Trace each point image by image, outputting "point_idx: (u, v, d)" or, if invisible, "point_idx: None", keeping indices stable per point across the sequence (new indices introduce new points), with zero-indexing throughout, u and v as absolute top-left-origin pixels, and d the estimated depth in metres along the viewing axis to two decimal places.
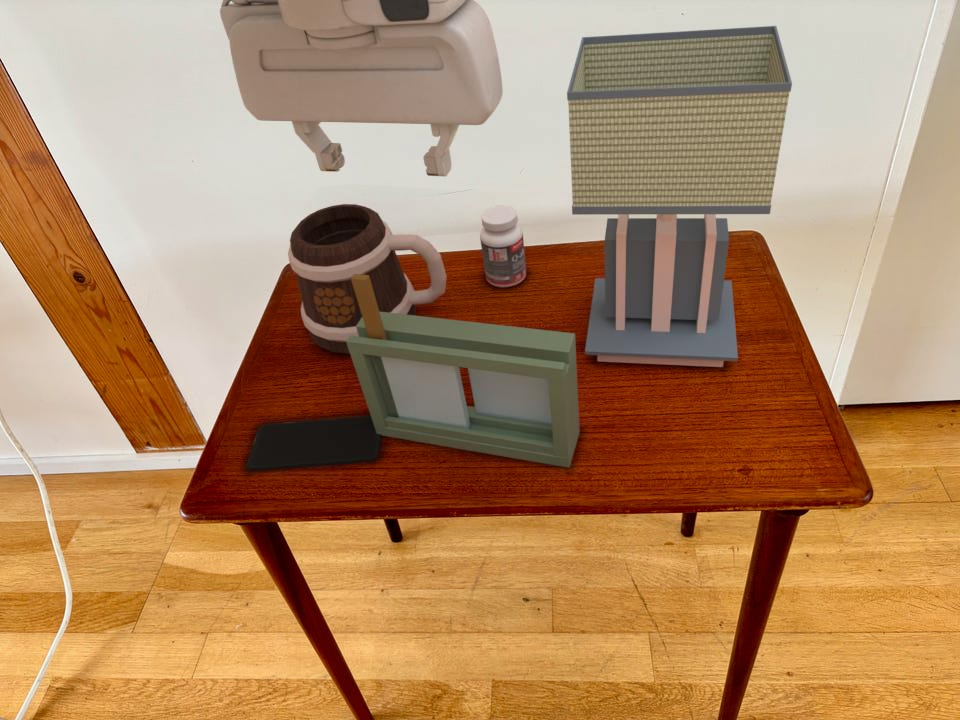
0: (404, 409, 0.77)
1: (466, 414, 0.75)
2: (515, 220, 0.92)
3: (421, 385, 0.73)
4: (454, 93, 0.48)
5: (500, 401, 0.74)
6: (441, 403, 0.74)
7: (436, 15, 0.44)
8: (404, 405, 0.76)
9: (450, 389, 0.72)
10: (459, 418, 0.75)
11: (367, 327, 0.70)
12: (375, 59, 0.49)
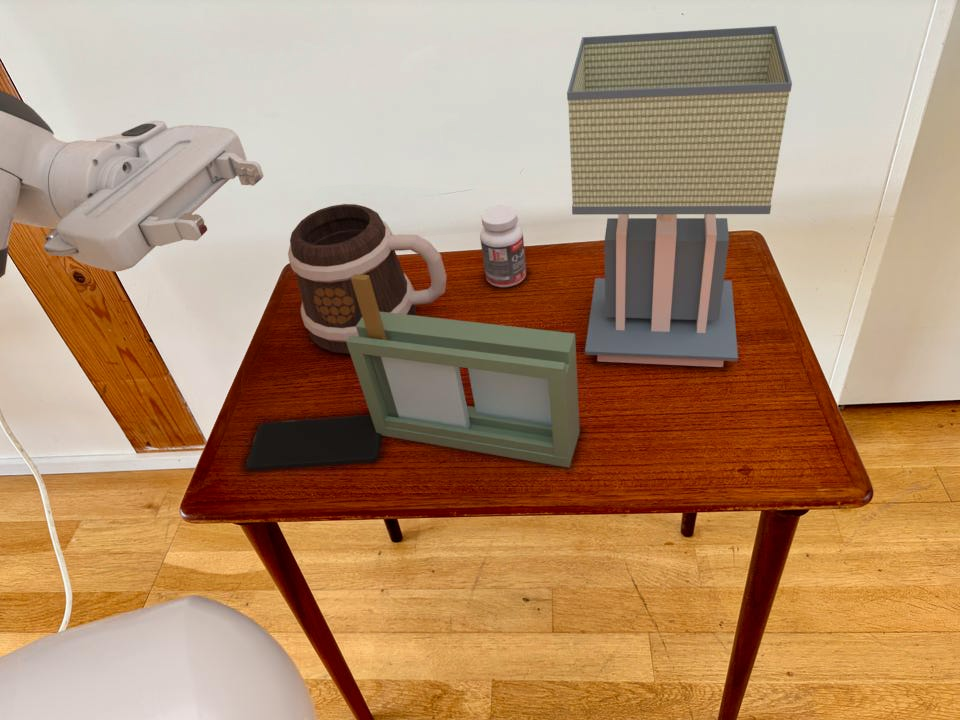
0: (404, 409, 0.77)
1: (466, 414, 0.75)
2: (515, 220, 0.92)
3: (421, 385, 0.73)
4: (207, 138, 0.71)
5: (500, 401, 0.74)
6: (441, 403, 0.74)
7: (159, 122, 0.72)
8: (404, 405, 0.76)
9: (450, 389, 0.72)
10: (459, 418, 0.75)
11: (367, 327, 0.70)
12: (156, 166, 0.68)
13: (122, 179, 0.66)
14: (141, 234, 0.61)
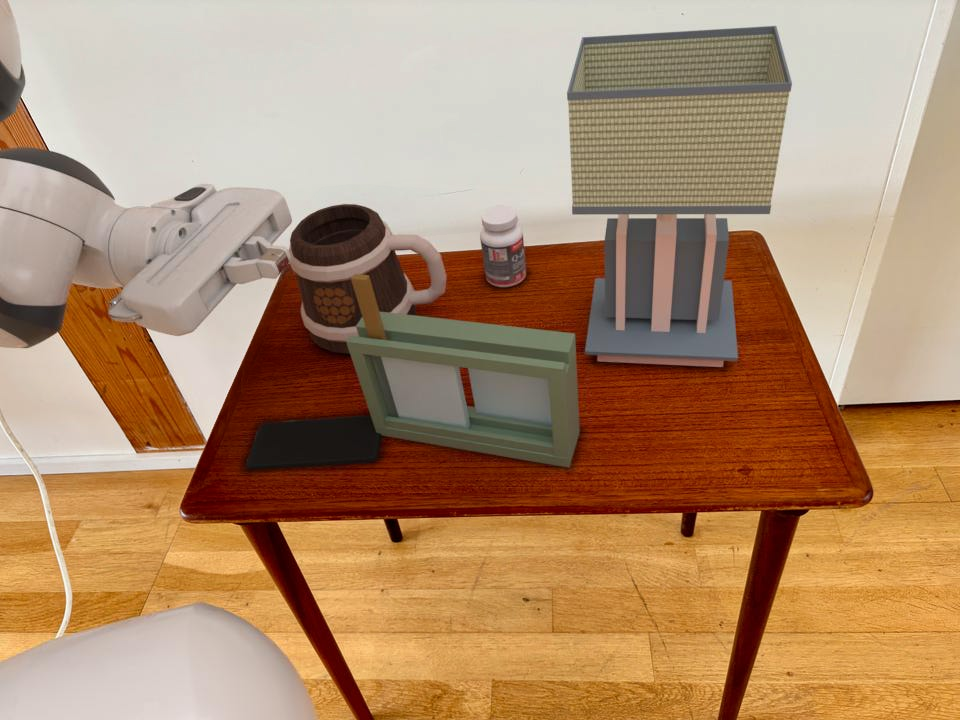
0: (404, 409, 0.77)
1: (466, 414, 0.75)
2: (515, 220, 0.92)
3: (421, 385, 0.73)
4: (255, 200, 0.74)
5: (500, 401, 0.74)
6: (441, 403, 0.74)
7: (208, 185, 0.75)
8: (404, 405, 0.76)
9: (450, 389, 0.72)
10: (459, 418, 0.75)
11: (367, 327, 0.70)
12: (209, 230, 0.71)
13: (178, 244, 0.69)
14: (201, 300, 0.65)
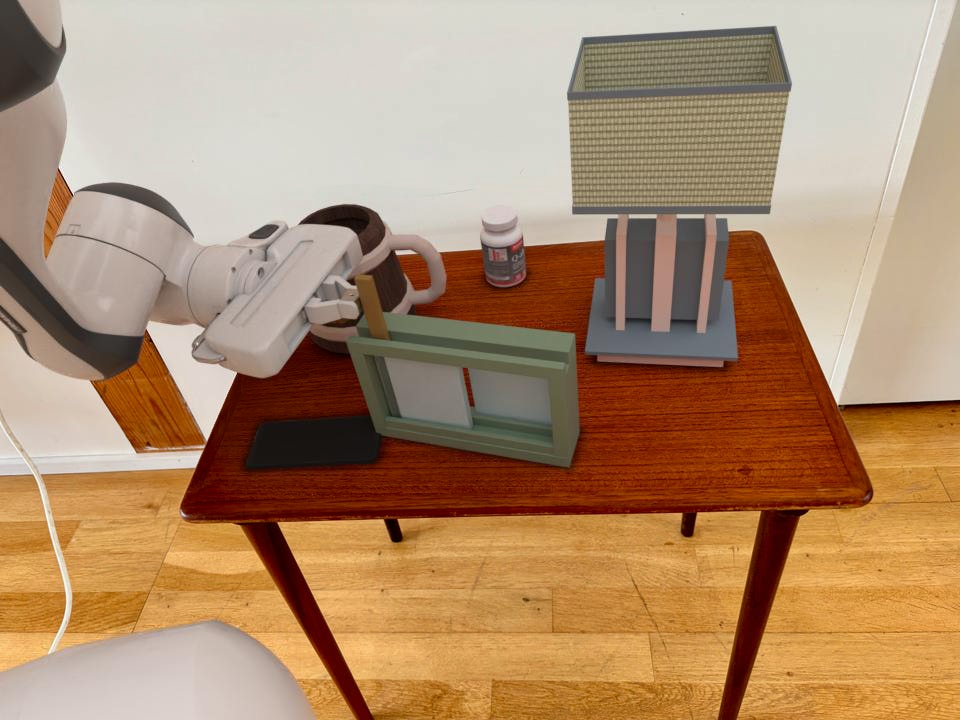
0: (407, 409, 0.77)
1: (469, 414, 0.75)
2: (515, 220, 0.92)
3: (424, 385, 0.73)
4: (329, 237, 0.74)
5: (500, 401, 0.74)
6: (444, 403, 0.74)
7: (281, 222, 0.75)
8: (407, 406, 0.76)
9: (453, 390, 0.72)
10: (462, 418, 0.75)
11: (370, 327, 0.70)
12: (285, 269, 0.71)
13: (257, 284, 0.69)
14: (285, 342, 0.65)
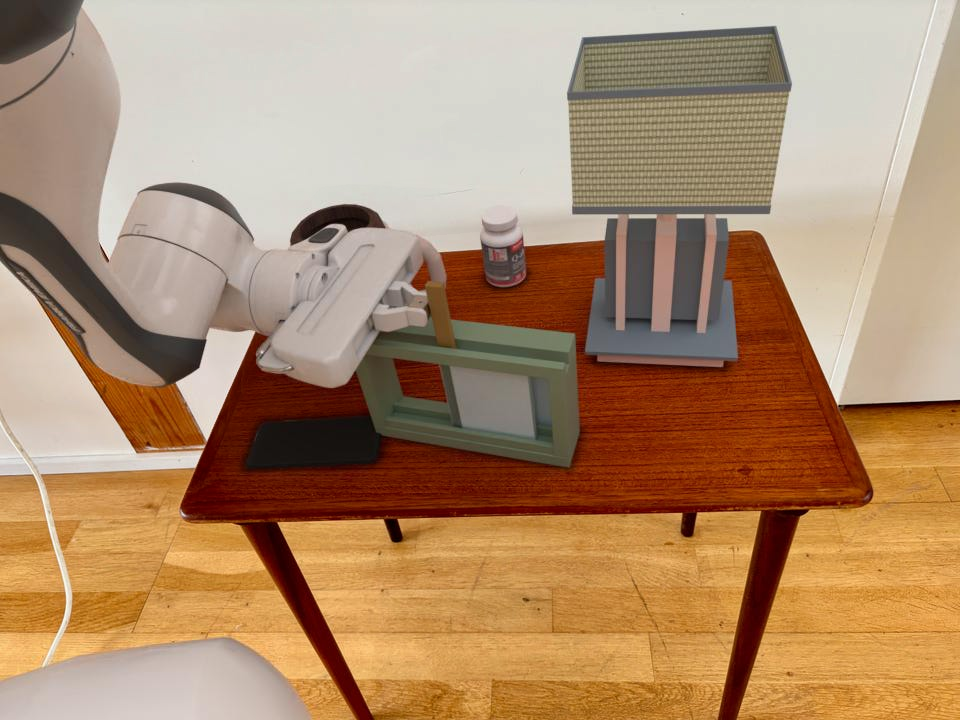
0: (469, 419, 0.74)
1: (534, 425, 0.73)
2: (515, 220, 0.92)
3: (490, 395, 0.71)
4: (390, 242, 0.72)
5: None
6: (509, 413, 0.72)
7: (340, 226, 0.73)
8: (469, 416, 0.74)
9: (521, 400, 0.70)
10: (527, 429, 0.72)
11: (437, 335, 0.67)
12: (348, 274, 0.69)
13: (321, 290, 0.67)
14: (354, 350, 0.63)
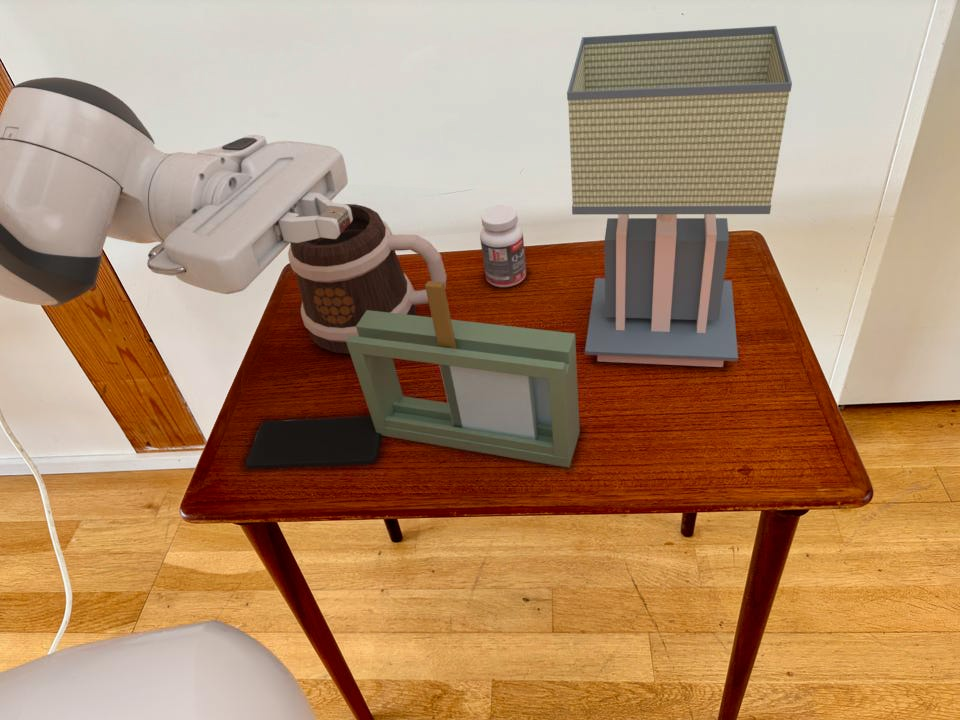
0: (469, 419, 0.74)
1: (535, 425, 0.72)
2: (515, 220, 0.92)
3: (490, 395, 0.71)
4: (311, 155, 0.67)
5: None
6: (510, 413, 0.72)
7: (259, 137, 0.68)
8: (469, 416, 0.74)
9: (521, 400, 0.70)
10: (527, 429, 0.72)
11: (437, 335, 0.67)
12: (260, 183, 0.64)
13: (227, 195, 0.62)
14: (254, 255, 0.58)
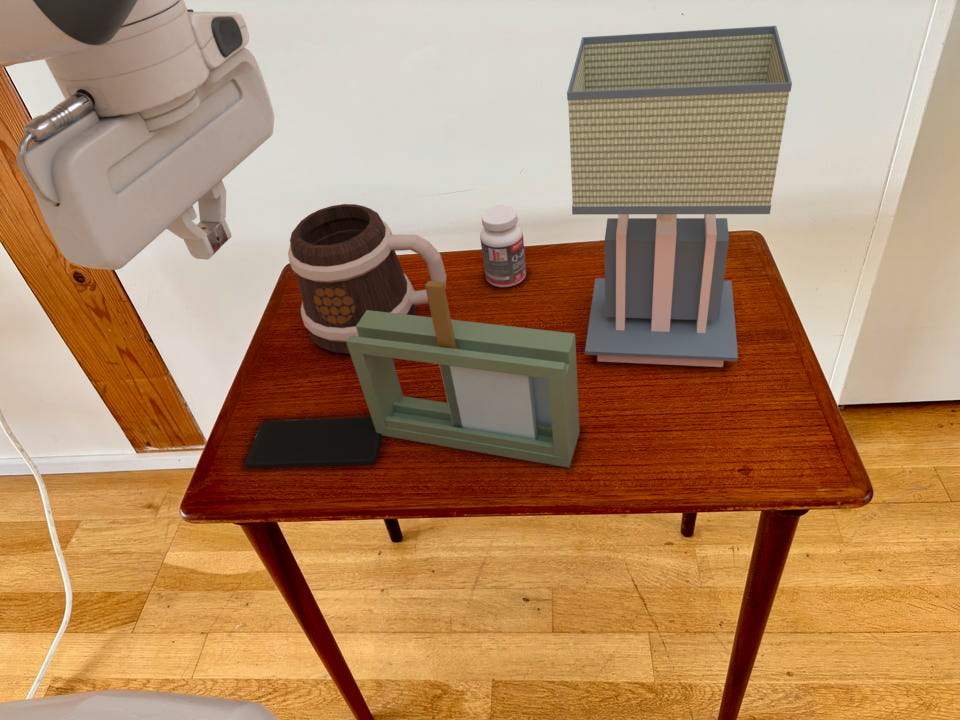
0: (469, 419, 0.74)
1: (535, 425, 0.72)
2: (515, 220, 0.92)
3: (490, 395, 0.71)
4: (255, 114, 0.54)
5: None
6: (510, 413, 0.72)
7: (246, 38, 0.50)
8: (469, 416, 0.74)
9: (521, 400, 0.70)
10: (527, 429, 0.72)
11: (437, 335, 0.67)
12: (197, 117, 0.48)
13: None
14: None
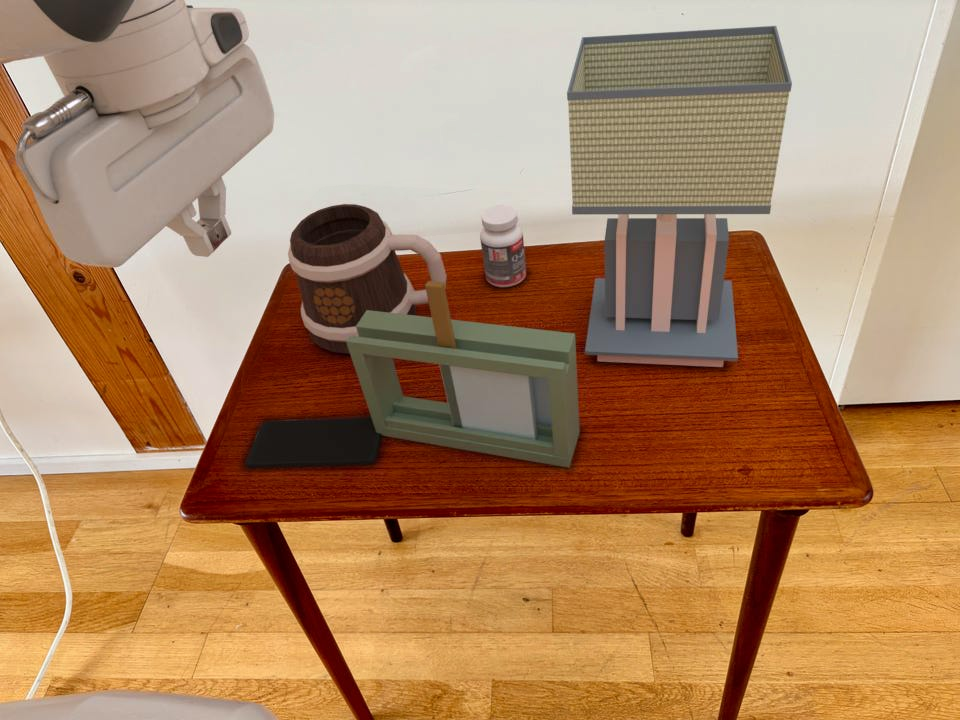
0: (469, 419, 0.74)
1: (535, 425, 0.72)
2: (515, 220, 0.92)
3: (490, 395, 0.71)
4: (255, 110, 0.53)
5: None
6: (510, 413, 0.72)
7: (246, 34, 0.49)
8: (469, 416, 0.74)
9: (521, 400, 0.70)
10: (527, 429, 0.72)
11: (437, 335, 0.67)
12: (197, 114, 0.48)
13: None
14: None
